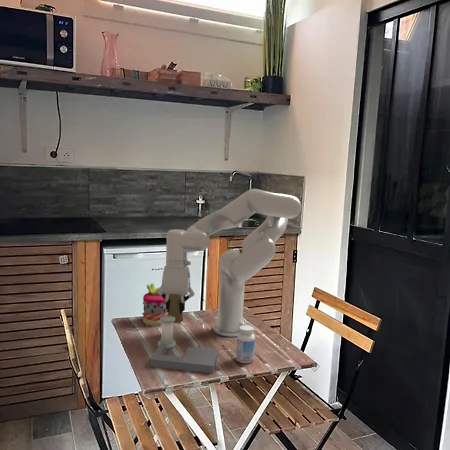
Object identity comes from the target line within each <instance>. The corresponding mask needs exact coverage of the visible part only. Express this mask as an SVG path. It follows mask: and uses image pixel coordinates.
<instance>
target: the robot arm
mask: <svg viewBox="0 0 450 450" xmlns="http://www.w3.org/2000/svg"><path fill="white" fill-rule="evenodd" d="M301 211H302V204H301V201H300V199H299V198H297V197H296V196H294V195H290V194H286V193H279V192H278V193H275V192H271V191H266V190H263V189H258V188H252V189H251V188H250V189H248V190H247V191H245V192H244V193H242V194H241V195H239V196H238V197H236V198H235V199H234V200H232V201H231V202H229V203H228V204H227V205H225V206H224V207H222V208H220V209H218V210H216V211H214V212H212V213H210V214H208V215H205V216H204V217H201V219H199V220H198V221H196V222H195V223H193V224H192V225H190V226H189V227H188V228H187V229H186V230H185V229H170V230H168V231H167V233H166V243H165V244H166V252H165V253H166V254H165V256H166V258H165V266H164V267H163V271H162V277H161V285H160V288H159V287H158V288H159V289H158V291H157V293H158V294H159V295H161V296H162V297H163V298H164V300H165V302H166V309H167V312H169V305H170V299H169V294H178V295H180V296H181V303H180V314H182V313H184V311H185V309H186V307H185V305H186V302H187V301H188V300H189V299H190V298H192V297H194V296H195V292H194V290H193V289H192V287H191V273H190V272H191V271H190V267H189V266H191V265H192V263H191V261H189V260H188V251H191V252H193V251H194V252H203V251H205V250H207V249H208V248H209V246H210V244H211V238H210V236H212V235H213V234H215V233H218V232H219V231H220V232H221V231H222V230H224V231H225V230H229V229H233V228H236V227H237V226H239V225H240V224H242V223H243V222H245V221H246V220H247V219H249V218H250V217H251V216H253V215H255V214H258V215H265V216H267V217H266V218H265V220H264V221H263V222H262V223H261V224H260V225H259V226H258V227H257V228H255V229H254V230H253V231H252V232H251V233H249V234H247V236H245V238H244V239H243V241H242V244H241V247H242V249H243V252H240V251H239V250H235V249H227V250H226V251H224V252H223V253H222V254H221V256H220V257H219V262H218V271H219V287H218V288H219V291H218V293H219V294H218V307H217V308H218V311H217V323H216V324H214V326H213V329H212V330H213V331H214V332H213V333H215V334H216V335H219V336H223V337H233V338H234V337H237V335H238V334H239V333H240V332H239V328H240V326H243V325H248V326H252V327H253V328H255V327H254V325H255V324H252V322H248V321H244V320H245V318H244V317H243V316H244V315H243V314H244V301H245V300H244V298H245V282H246V281H248V280H250V279H251V278H253V277H254V276H255V275H256V274H257V273H258V272H259V271H260V270H262V269H263V268H264V267H265V266H267V265H268V264H269V263H270V261H272V259H273V258H274V256H275V255H276V244H275V242H276V241H278V240H279V239H280V238H281V237H282V236H283V235H284V233H285V231H286V229H287V226H288V221H289V219H295V218H296V217H298V215H299V214H300V213H301Z"/></svg>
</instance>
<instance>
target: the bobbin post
mask: <svg viewBox="0 0 450 450" xmlns="http://www.w3.org/2000/svg"><path fill="white" fill-rule="evenodd" d="M160 321H161V322H162V326H161V331H160V332H161V333H160V334H161V337H160V340H158V341H157V348H158V347H159V345H160V344H166V350H171V349H174V348H176V346H177V342H176V341H175V340H174V339H173V338H174V323H173V322H174V321H175V317H174V316H169V315H166V316H162V317H160Z"/></svg>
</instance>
